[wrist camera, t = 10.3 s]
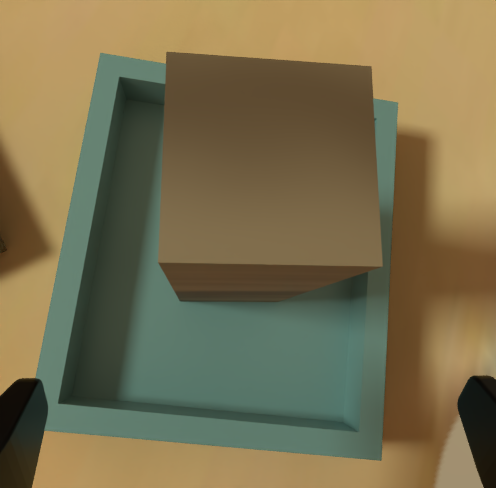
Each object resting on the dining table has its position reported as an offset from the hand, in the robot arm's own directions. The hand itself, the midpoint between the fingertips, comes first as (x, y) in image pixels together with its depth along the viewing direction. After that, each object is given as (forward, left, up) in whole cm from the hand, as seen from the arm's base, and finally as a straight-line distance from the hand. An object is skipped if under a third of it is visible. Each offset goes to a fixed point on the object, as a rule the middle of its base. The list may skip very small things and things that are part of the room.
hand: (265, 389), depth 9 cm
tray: (+5, 0, -12) cm, 13 cm away
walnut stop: (+5, 0, -11) cm, 12 cm away
